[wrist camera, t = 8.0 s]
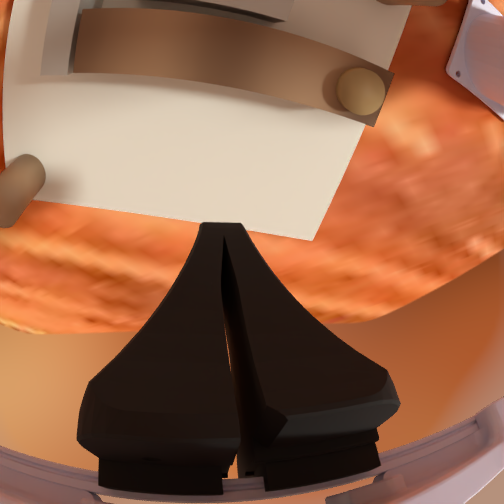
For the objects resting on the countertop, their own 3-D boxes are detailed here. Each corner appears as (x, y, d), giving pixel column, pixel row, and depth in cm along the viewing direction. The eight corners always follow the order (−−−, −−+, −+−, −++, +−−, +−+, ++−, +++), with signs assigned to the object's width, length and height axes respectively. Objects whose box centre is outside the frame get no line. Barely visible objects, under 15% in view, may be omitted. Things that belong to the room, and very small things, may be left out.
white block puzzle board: (408, -22, 11) (465, -25, 7) (307, 228, 23) (328, 281, 19) (55, -86, 5) (12, -106, 1) (18, 186, 17) (-18, 232, 13)
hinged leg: (367, 64, 14) (400, 75, 11) (350, 110, 16) (379, 131, 13) (104, 11, 10) (77, 8, 8) (95, 64, 12) (67, 75, 9)
